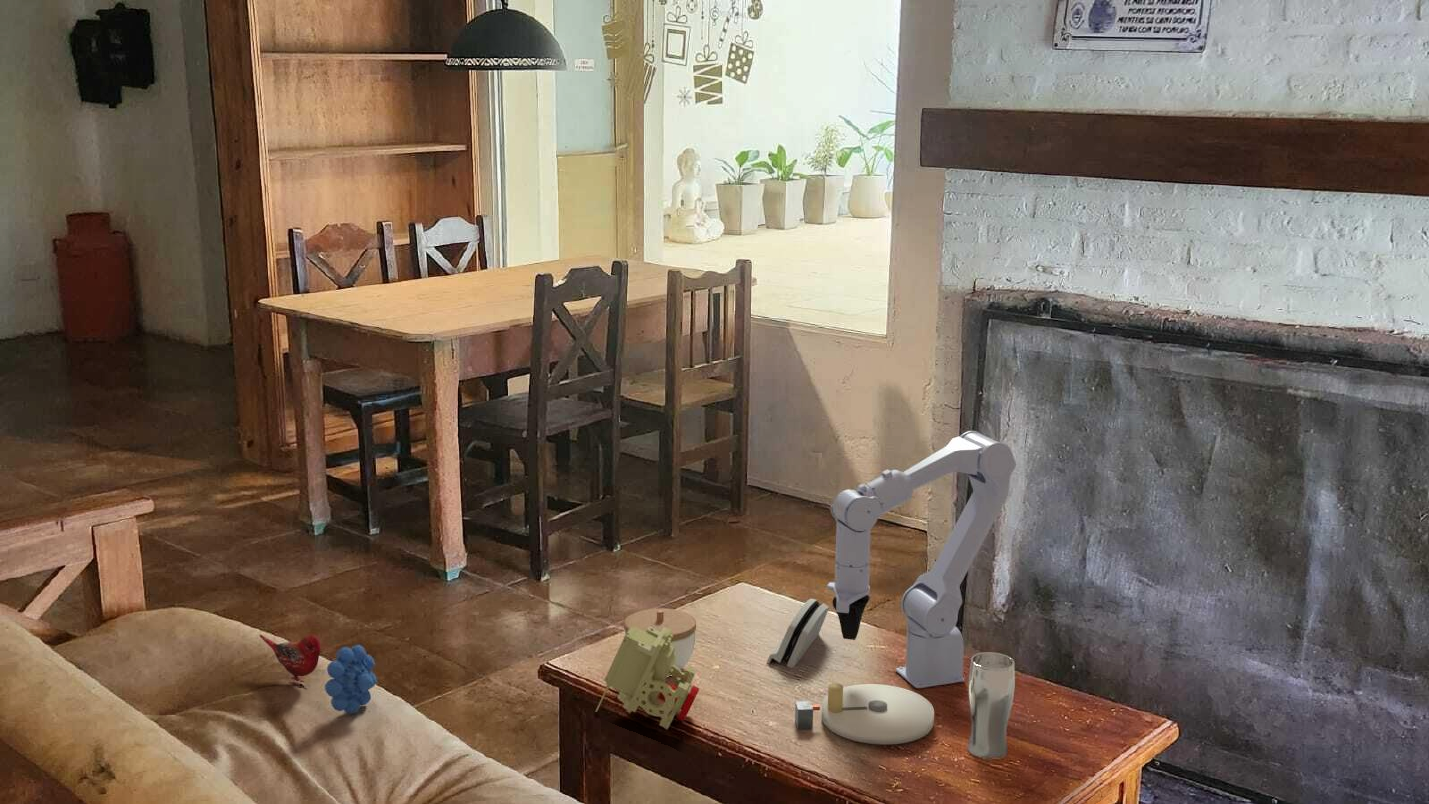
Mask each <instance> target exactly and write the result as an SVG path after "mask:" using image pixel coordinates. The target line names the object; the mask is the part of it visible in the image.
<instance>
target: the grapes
mask: <svg viewBox="0 0 1429 804" xmlns="http://www.w3.org/2000/svg"><path fill="white" fill-rule="evenodd" d="M336 658H337V660H332V661H331V662H329V664H328V665H327V668H326V671H327V673H328V676H329V677H330V678H331V679H329V680H327V681H326V683H325V685H324V690H325V692H326V694H327V696H330V697H331V700H330V702H331V707H332V708H333V709H334V711H337V712H342V711H345V713H346V714H349V715H353V714H356V713H358V711H359V709H360V708H361V706H366V705H367V704H369V702H370V701H371V700H372V696H371V695H372V694H371V692H370V690H371V689H372V688H373V687H375V686H376V684H377V681H378V680H377V677H376V675H375V673H374V672H372V670H373V669H374V667H375V665H376V662H375V659H374V658H373V657H372V655H370V654H368V653H367V652H366V650H365V647H364V646H362V645H361V644H356V645H355V644H354V645H353V646H352V647H348V646H343V647H341V648H340V649H338V651H337V653H336Z"/></svg>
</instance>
